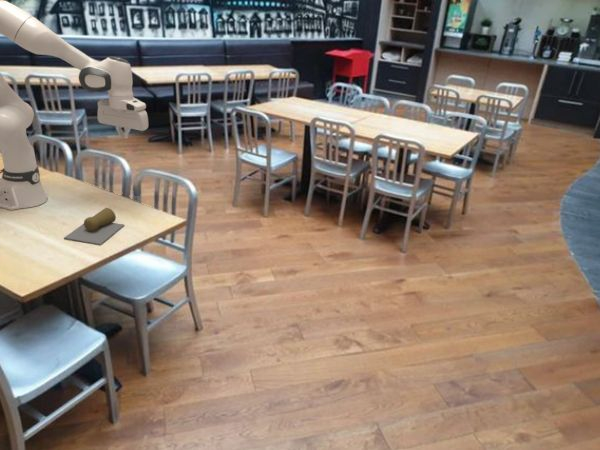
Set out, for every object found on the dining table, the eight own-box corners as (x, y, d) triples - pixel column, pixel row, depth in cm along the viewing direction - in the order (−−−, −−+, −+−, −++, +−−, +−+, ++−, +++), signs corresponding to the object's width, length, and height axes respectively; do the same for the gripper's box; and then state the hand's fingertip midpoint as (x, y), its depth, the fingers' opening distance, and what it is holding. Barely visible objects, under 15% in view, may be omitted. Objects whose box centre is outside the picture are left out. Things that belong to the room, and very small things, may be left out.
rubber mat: (64, 239, 162) (63, 237, 161) (90, 220, 176) (90, 218, 176) (100, 245, 160) (100, 244, 160) (124, 225, 174) (124, 224, 174)
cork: (117, 223, 175) (96, 234, 165) (104, 221, 177) (83, 232, 167) (113, 208, 172) (92, 218, 163) (101, 207, 175) (79, 217, 165)
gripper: (92, 99, 172) (95, 135, 178) (140, 107, 168) (142, 144, 174) (102, 96, 178) (105, 131, 184) (149, 104, 174) (151, 140, 180)
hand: (123, 137), depth 179 cm, fingers closed
